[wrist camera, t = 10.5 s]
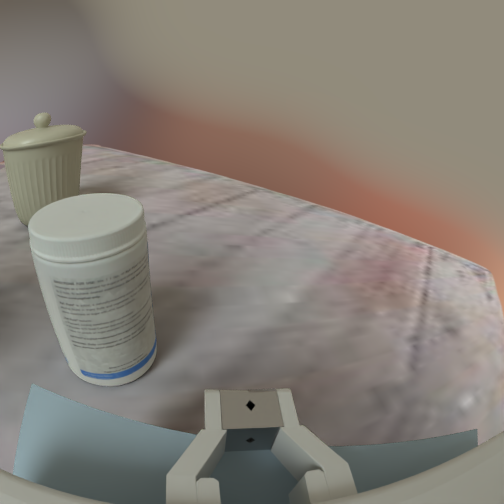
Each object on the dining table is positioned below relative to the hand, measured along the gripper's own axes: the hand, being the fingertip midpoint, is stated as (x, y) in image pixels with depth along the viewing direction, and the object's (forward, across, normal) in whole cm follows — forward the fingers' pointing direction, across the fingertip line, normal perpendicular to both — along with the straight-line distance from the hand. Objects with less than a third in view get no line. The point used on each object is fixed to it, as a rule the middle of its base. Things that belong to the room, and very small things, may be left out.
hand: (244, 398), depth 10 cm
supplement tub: (+14, +11, +14) cm, 22 cm away
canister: (+47, +34, +14) cm, 59 cm away
